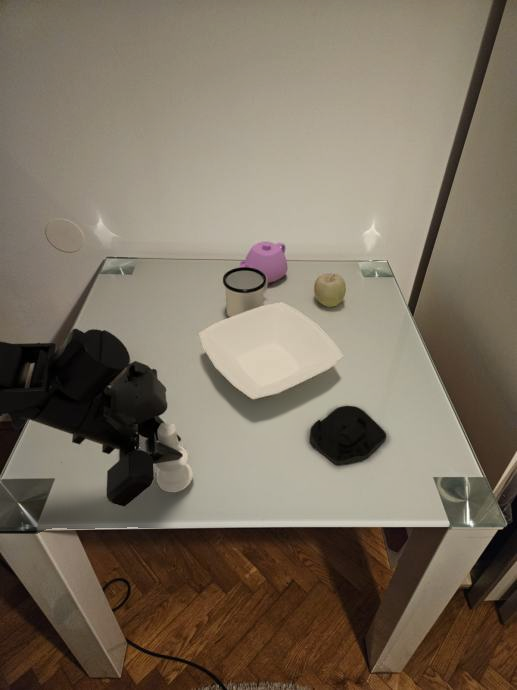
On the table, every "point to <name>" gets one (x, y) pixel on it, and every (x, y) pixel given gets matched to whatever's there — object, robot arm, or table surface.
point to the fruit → (330, 289)
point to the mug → (244, 289)
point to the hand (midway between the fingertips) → (179, 449)
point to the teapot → (267, 260)
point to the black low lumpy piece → (346, 435)
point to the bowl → (269, 349)
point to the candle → (173, 462)
